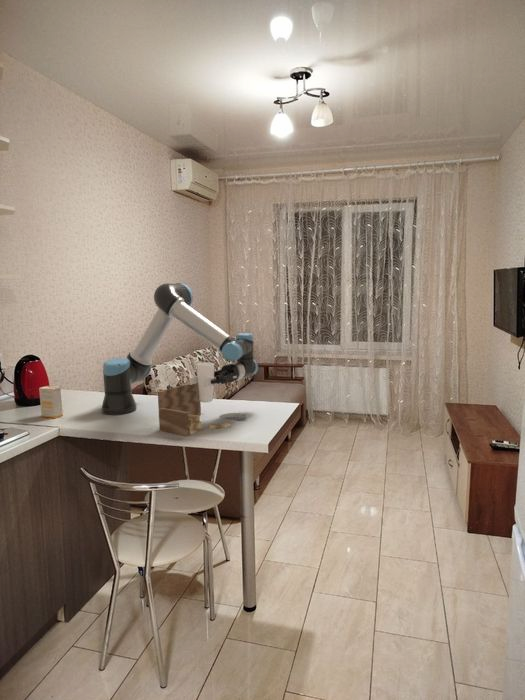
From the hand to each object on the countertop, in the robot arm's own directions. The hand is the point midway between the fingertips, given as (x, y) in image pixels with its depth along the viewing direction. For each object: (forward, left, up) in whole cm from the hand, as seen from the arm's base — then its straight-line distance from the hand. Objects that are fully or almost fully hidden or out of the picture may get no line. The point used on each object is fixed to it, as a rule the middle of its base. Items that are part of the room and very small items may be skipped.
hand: (197, 382), depth 183 cm
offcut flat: (0, +8, -20) cm, 21 cm away
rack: (-4, -2, -19) cm, 20 cm away
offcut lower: (+4, -3, -18) cm, 19 cm away
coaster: (-15, +14, -19) cm, 28 cm away
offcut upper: (+4, -3, -15) cm, 16 cm away
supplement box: (-33, -64, -19) cm, 75 cm away
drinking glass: (-4, +3, -9) cm, 10 cm away
